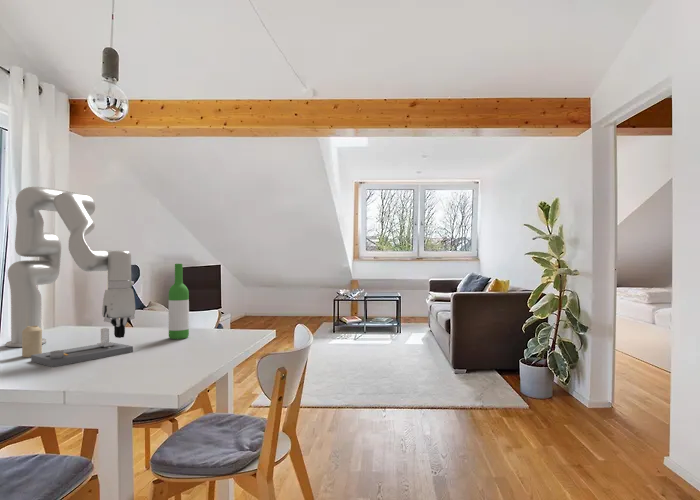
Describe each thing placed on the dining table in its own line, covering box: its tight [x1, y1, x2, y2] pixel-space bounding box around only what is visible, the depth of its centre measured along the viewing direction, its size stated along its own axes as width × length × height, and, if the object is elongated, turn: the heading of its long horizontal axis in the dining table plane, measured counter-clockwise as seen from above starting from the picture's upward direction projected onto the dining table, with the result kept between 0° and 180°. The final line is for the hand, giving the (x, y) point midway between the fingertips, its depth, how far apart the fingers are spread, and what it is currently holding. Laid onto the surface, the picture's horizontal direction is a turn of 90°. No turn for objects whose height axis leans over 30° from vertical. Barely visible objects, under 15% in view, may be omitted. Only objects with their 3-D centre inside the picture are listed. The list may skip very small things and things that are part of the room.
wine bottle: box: [168, 263, 190, 340], centre depth 193 cm, size 8×8×30 cm
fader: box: [96, 327, 114, 347], centre depth 165 cm, size 4×3×6 cm
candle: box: [21, 326, 43, 358], centre depth 160 cm, size 6×6×10 cm
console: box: [30, 341, 134, 368], centre depth 159 cm, size 14×26×4 cm, turn 146°
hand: (119, 337), depth 169 cm, fingers closed
